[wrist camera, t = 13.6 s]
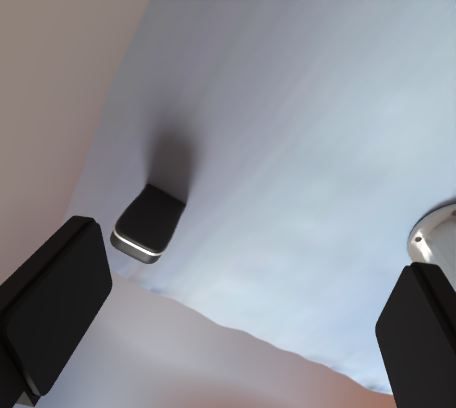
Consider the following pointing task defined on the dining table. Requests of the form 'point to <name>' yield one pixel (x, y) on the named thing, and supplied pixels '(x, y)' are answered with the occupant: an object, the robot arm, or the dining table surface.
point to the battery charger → (147, 225)
